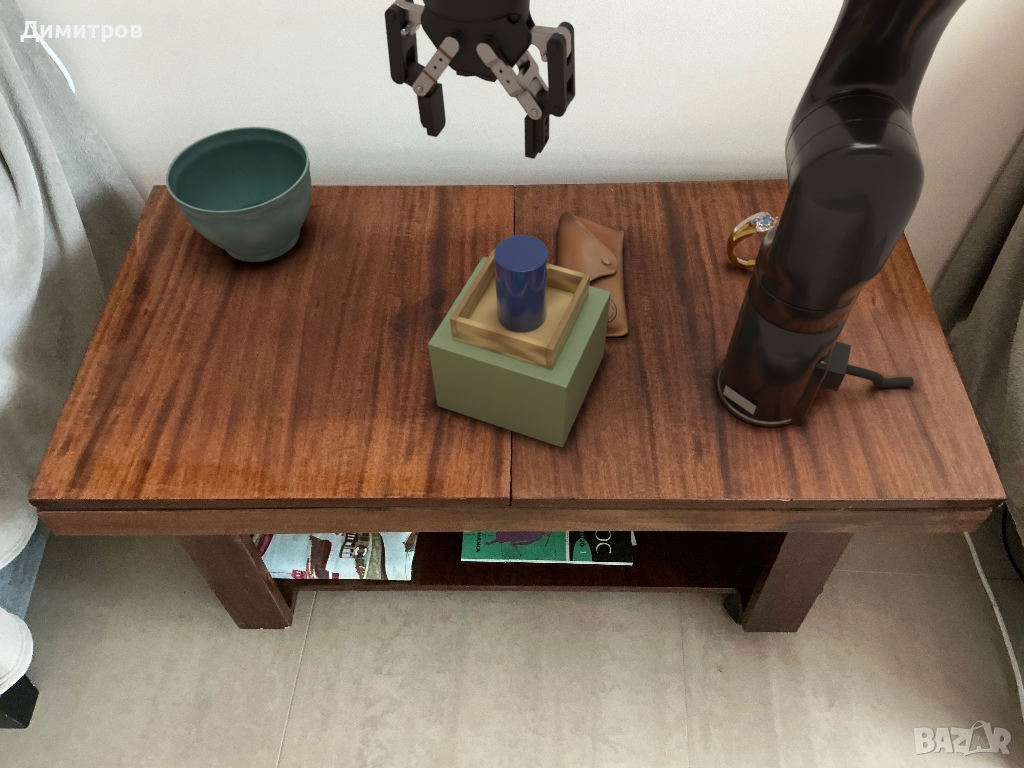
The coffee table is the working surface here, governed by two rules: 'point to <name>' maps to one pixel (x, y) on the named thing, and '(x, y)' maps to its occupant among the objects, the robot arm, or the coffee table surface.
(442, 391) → the riser
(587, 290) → the tray
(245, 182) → the teal bowl
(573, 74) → the robot arm
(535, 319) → the blue cylinder
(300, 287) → the coffee table surface
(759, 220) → the ring
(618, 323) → the sunglasses case
